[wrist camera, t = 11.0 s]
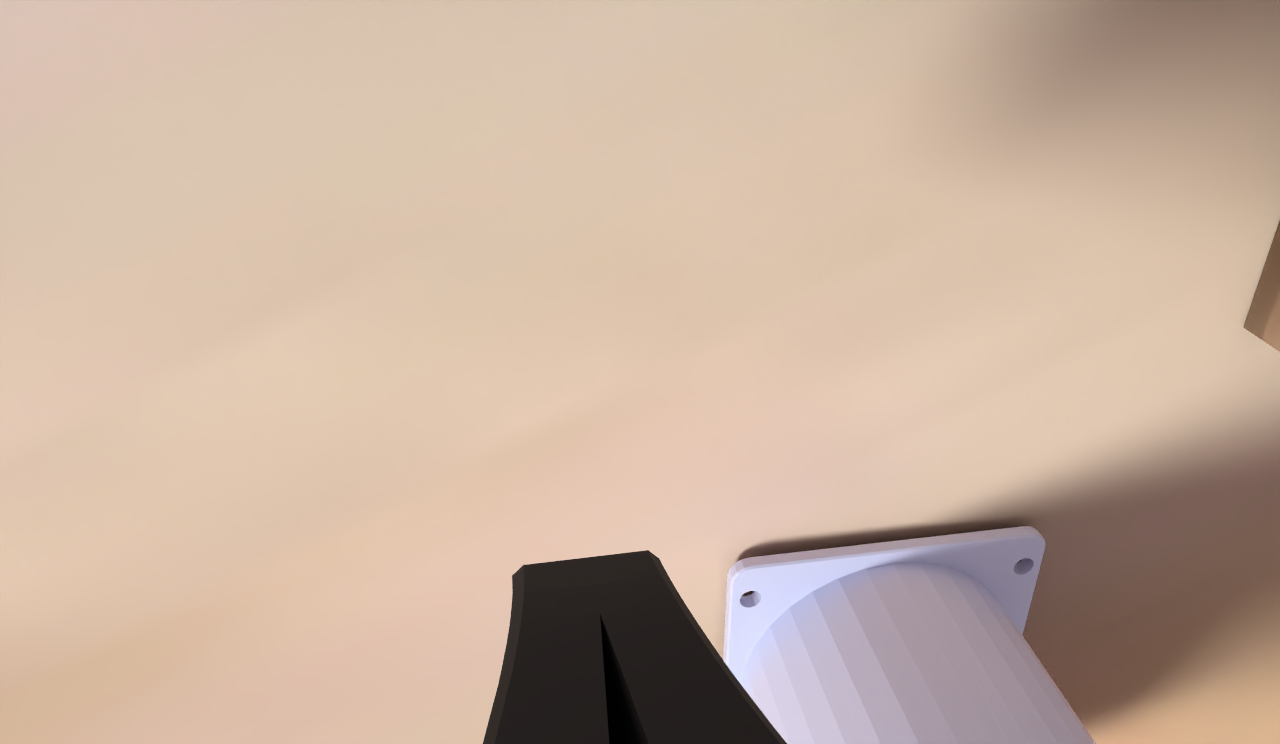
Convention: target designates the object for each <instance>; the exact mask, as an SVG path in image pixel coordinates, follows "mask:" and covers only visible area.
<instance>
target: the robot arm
mask: <svg viewBox="0 0 1280 744" xmlns="http://www.w3.org/2000/svg"><path fill="white" fill-rule="evenodd" d="M1045 543H1046V542H1045V540H1044V538H1043V537H1042V535H1041V534H1040V533H1039V532H1038V530H1037V529H1035V528H1033V527H1031V526H1021V527H1012V528H1004V529H995V530H986V531H977V532H968V533H960V534H951V535H942V536H933V537H925V538H916V539H907V540H898V541H889V542H881V543H872V544H863V545H854V546H846V547H837V548H828V549H819V550H810V551H802V552H793V553H784V554H775V555H766V556H758V557H749V558H745V559H741V560H740V561H738V562H736V563H735V564H734V565H733V566H732V567H731V568H730V569H729V572H728V576H727V595H726V614H725V634H724V653H723V659H722V658H721V657H720V655H719V654H718V652H717V651H716V649H715V648H714V647H713V645H712V644H711V642H710V641H709V639H708V638H707V636H706V635H705V633H704V632H703V630H702V629H701V627H700V626H699V625H698V623H697V622H696V620H695V618H694V617H693V615H692V614H691V612H690V611H689V609H688V608H687V606H686V605H685V603H684V601H683V600H682V598H681V596H680V595H679V593H678V592H677V590H676V588H675V587H674V585H673V583H672V581H671V580H670V578H669V576H668V575H667V573H666V571H665V569H664V567H663V565H662V563H661V561H660V560H659V558H658V557H656V556H655V555H654V554H652V553H651V552H650V551H648V550H647V551H639V552H631V553H622V554H614V555H605V556H597V557H588V558H580V559H572V560H563V561H555V562H546V563H538V564H529V565H523V566H522V567H521V568H520V569H519V570H518V571H517V572H516V573H515V574H514V575H513V576H512V581H513V597H512V609H511V619H510V627H509V633H508V639H507V645H506V650H505V655H504V660H503V665H502V670H501V675H500V680H499V684H498V688H497V692H496V696H495V700H494V703H493V707H492V711H491V715H490V719H489V722H488V726H487V730H486V734H485V738H484V741H483V744H1096V743H1095V742H1094V740H1093V739H1092V737H1091V736H1090V734H1089V733H1088V731H1087V730H1086V728H1085V727H1084V725H1083V724H1082V722H1081V721H1080V719H1079V718H1078V717H1077V715H1076V714H1075V712H1074V711H1073V709H1072V708H1071V706H1070V705H1069V703H1068V702H1067V700H1066V699H1065V697H1064V696H1063V695H1062V693H1061V692H1060V690H1059V689H1058V687H1057V686H1056V684H1055V683H1054V681H1053V680H1052V678H1051V677H1050V675H1049V674H1048V672H1047V671H1046V670H1045V668H1044V667H1043V665H1042V664H1041V662H1040V661H1039V659H1038V658H1037V656H1036V655H1035V653H1034V652H1033V650H1032V649H1031V647H1030V646H1029V645H1028V643H1027V642H1026V640H1025V639H1024V637H1023V632H1024V628H1025V624H1026V620H1027V616H1028V612H1029V609H1030V605H1031V601H1032V597H1033V593H1034V589H1035V586H1036V582H1037V578H1038V574H1039V570H1040V566H1041V562H1042V559H1043V555H1044V551H1045ZM1022 559H1023V560H1022ZM1020 560H1022V561H1020ZM1018 561H1020V562H1019V563H1017V562H1018ZM749 591H755V592H753V593H752V594H751V595H748V596H742V595H743V594H744V593H746V592H749Z"/></svg>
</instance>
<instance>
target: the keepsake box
mask: <svg viewBox="0 0 1280 744" xmlns="http://www.w3.org/2000/svg"><path fill="white" fill-rule="evenodd" d="M1244 328H1245V329H1247V330H1248V331H1250V332H1251V333H1253V334H1254V335H1256V336H1257V337H1259V338H1260V339H1262V340H1263V341H1265V342H1266V343H1268V344H1269V345H1271V346H1272V347H1274V348H1275V349H1277V350H1278V351H1280V222H1279V225H1278V228H1277V231H1276V234H1275V237H1274V239H1273V242H1272V245H1271V248H1270V251H1269V254H1268V257H1267V260H1266V263H1265V266H1264V269H1263V272H1262V275H1261V278H1260V280H1259V283H1258V286H1257V289H1256V292H1255V295H1254V298H1253V301H1252V304H1251V307H1250V310H1249V313H1248V316H1247V319H1246V322H1245V324H1244Z"/></svg>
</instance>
